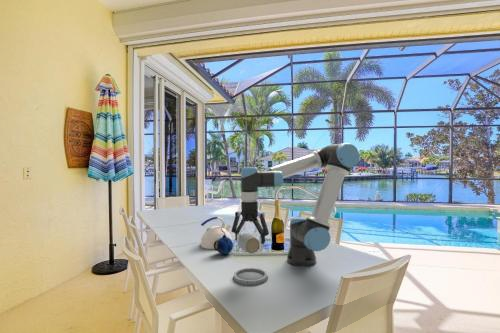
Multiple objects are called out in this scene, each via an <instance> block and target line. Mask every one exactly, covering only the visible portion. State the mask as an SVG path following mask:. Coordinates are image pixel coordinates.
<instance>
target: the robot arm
mask: <svg viewBox="0 0 500 333" xmlns="http://www.w3.org/2000/svg"><path fill="white" fill-rule="evenodd" d="M359 161H360V152H359V150H358V148H357V147H356V145H354V144H352V143H349V142H342V143H337V144H336V143H335V144H329V145H327V146H324V147H322V148H319V149H317V150H314V151H312V152H311V154H308V155H304V156H302V157H298V158H296V159H292V160H289V161H286V162H283V163H279V164H276V165H274V166H270V167H268V168H264V169H258V167H257V166H244V167H241V169H240V191H241V192H240V195H241V196H240V199H241V203H240V204H241V206H240V208H241V211H238V210H237V211H235V213H234V220H233V224H232V226H231V233H234V234H235V241H236V249H239V250H240V249H241V248H240V246H239V243H238V242H239V238H240V236H241V235H242V233H240V231H241V230H242V229H243V227H244V225H245V223H246V222H250V223H252V224H254V227H255V228H256V229H257V232H258V233H259V235H260V236H259V238H258V241H259V249H258V251H259V252H260V253H261V252H263V251H264V244H265V243H266V237H267V236H268V235H269V234H270V232H269V229H268V228H269V227H268V225H267V222H266V219H265V212H259V211H258V210H259V206H258V205H259V203H258V199H259V197H258V188H278V187H279V188H280V187H282V186H283V184H284V179H285V178H289V177H292V176H295V175H297V174H301V173H304V172H306V171H310V170H313V169H322V168H326V169H327V171H326V174H325V177H324V179H323V182H322V185H321V187H320V190H319V193H318V194H317V195H318V196H317V198H316V202H315V204H314V207H313V210H312V212H311V215H309V216H305V217H304V216H303V217H302V216H301V217H292V218H290V220H289V240H290V241H289V243H290V244H289V245H290V246H289V249H288V252H287V255H286V261H287V262H288V263H289V264H291V265H293V266H299V267H300V266H301V267H304V266H305V267H307V266H313V265H315V264H316V263H317V257H316V254H315V252H322V251H323V250H326V249H327V248H328V246H329V245H330V242H331V235H330V232H329V231H330V229H331V225H330V223H329V221H330V219H331V215H332V213H333V210H334V207H335V205H336V202H337V199H338V197H339V196H338V195H339V193H340V190H341V188H342V185H343V183H344V179H345V178H346V177H345V176H347V175H349V174H350V172H351V169H352V168H353V167H356V166H357V165H358V163H359ZM241 217H242V218H241ZM240 218H241V220H240ZM258 218H259V219H258ZM239 221H240V222H239Z"/></svg>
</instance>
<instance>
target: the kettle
mask: <svg viewBox="0 0 500 333" xmlns="http://www.w3.org/2000/svg"><path fill="white" fill-rule="evenodd" d="M214 220H220V221H221V224H222V225H221V226H218V225H215V226H214V225H213V226H212V227H209V228H207V229H206V230H205V231H204V233H203V234H202V236H201V240H200V247H201V248H202V249H207V250H215V249H214V242H215V241H217V240H219V239H220V238H222V237H223V235H224V233H223V232H222V231H224V232H225V235H226V237H228V238H230V239H231V240H232V241H233V239H232V235H231V234H230V232H229V230H230V229H232V225H231V224H230V223H227V224H226V222H225V220H224V219H223V218H222V217H221V216H220V217H219V216H214V217H211V218H208V219H206V220H205V221H203V222H202V223H200V226H203V227H204V226H205V224H207V223H209V222H210V221H214ZM221 228H222V231H221Z"/></svg>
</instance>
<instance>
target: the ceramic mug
mask: <svg viewBox="0 0 500 333" xmlns="http://www.w3.org/2000/svg"><path fill="white" fill-rule="evenodd" d="M238 243H239V246H240V248H239V249H241V250H243V251H245V252H246V253H249V254H255V253H257V252H258V251H259V238H257V237H255V236H254V235H252V234H251V233H248V232H245V233H241V236H240V238H239V242H238Z"/></svg>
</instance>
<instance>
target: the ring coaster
mask: <svg viewBox="0 0 500 333" xmlns="http://www.w3.org/2000/svg"><path fill="white" fill-rule="evenodd" d="M232 280H233V281H234V282H235V283H236V284H238V285H241V286H258V285H261V284H262V285H263V284H264V283H267V281H268V280H269V275H268V273H267V271H266V270H265V269H262V268H258V267H257V268H256V267H244V268H239V269H238V270H236V271H235V272H234V273H233V276H232Z"/></svg>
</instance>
